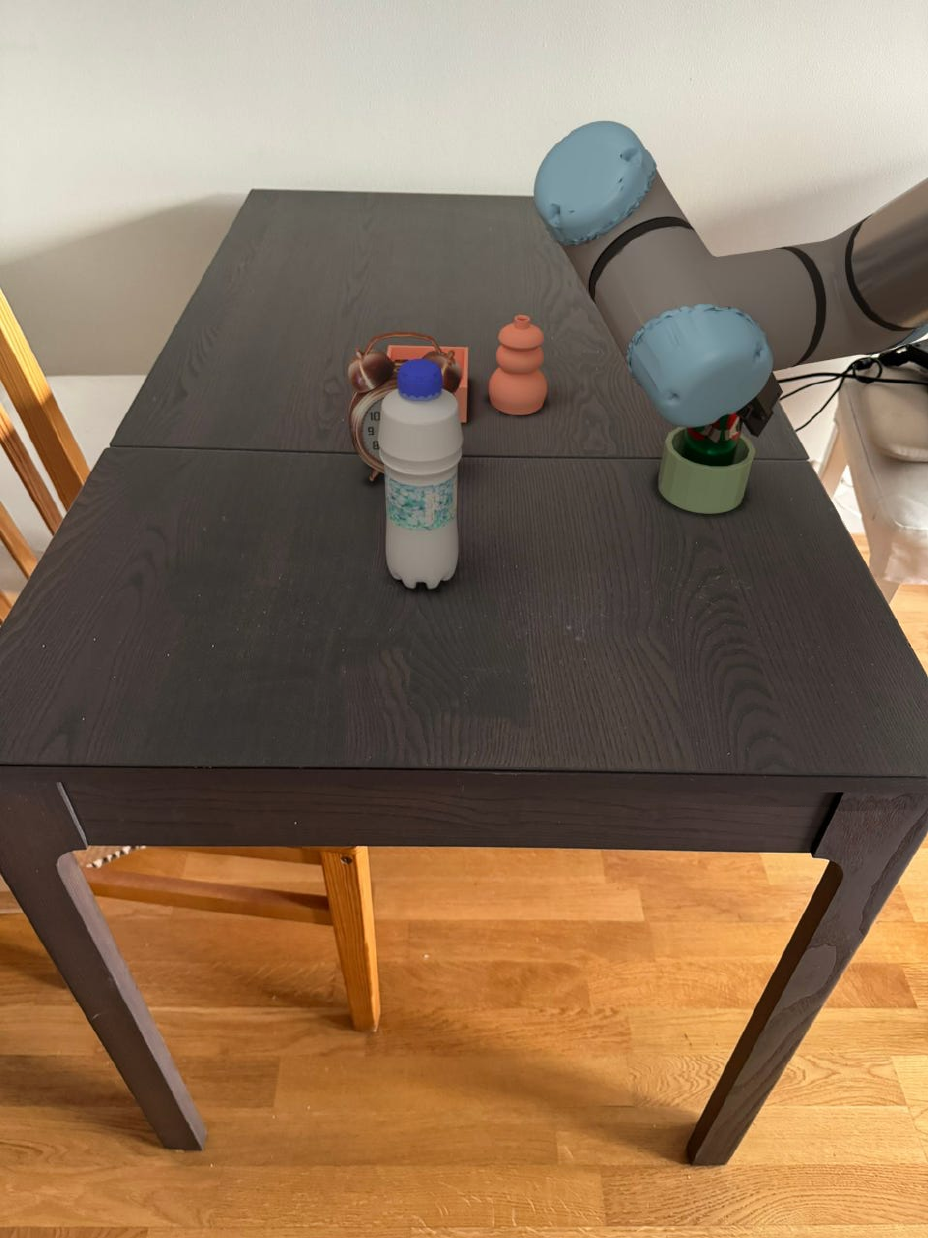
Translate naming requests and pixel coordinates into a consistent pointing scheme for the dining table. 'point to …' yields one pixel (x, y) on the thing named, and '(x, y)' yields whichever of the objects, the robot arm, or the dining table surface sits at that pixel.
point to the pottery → (500, 369)
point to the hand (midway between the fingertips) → (736, 412)
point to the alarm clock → (385, 391)
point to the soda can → (713, 442)
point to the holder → (703, 478)
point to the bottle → (421, 475)
